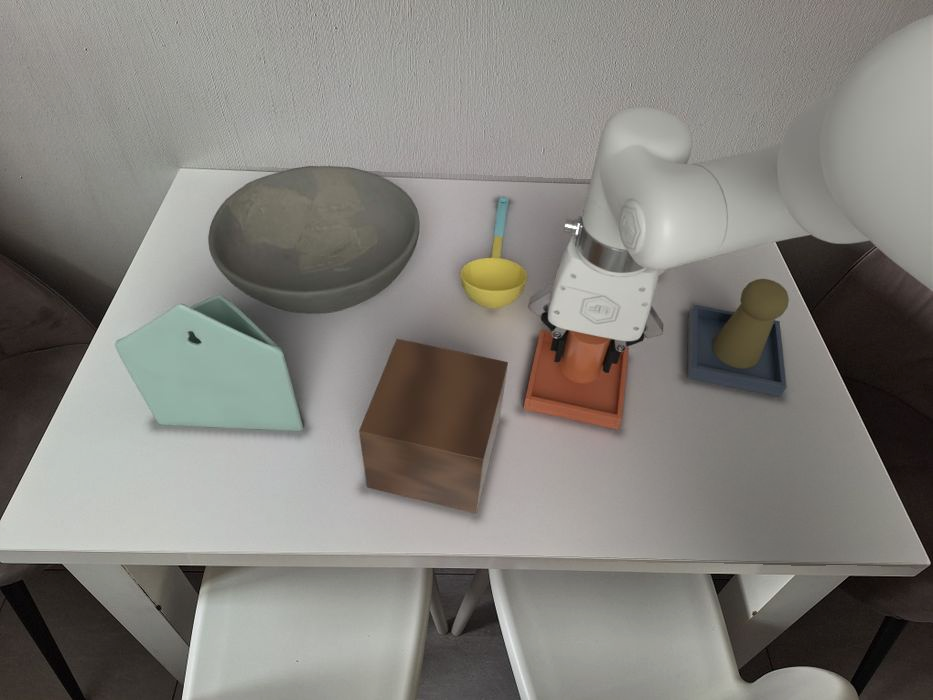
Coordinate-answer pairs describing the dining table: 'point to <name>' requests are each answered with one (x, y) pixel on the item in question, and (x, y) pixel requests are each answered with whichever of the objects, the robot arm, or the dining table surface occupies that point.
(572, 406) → the terracotta tray
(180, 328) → the planter
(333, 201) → the bowl
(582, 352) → the terracotta jar
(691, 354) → the slate tray
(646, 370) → the dining table surface
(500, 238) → the ladle
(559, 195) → the dining table surface
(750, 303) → the pepper shaker
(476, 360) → the block
